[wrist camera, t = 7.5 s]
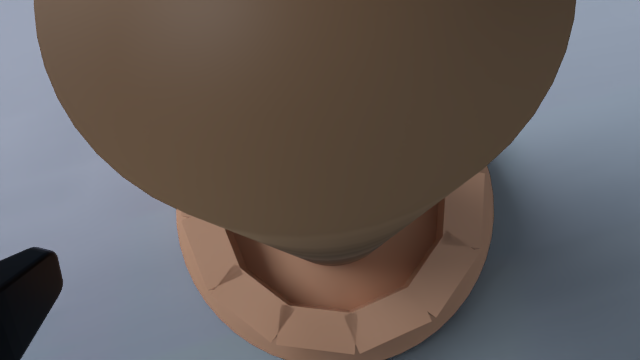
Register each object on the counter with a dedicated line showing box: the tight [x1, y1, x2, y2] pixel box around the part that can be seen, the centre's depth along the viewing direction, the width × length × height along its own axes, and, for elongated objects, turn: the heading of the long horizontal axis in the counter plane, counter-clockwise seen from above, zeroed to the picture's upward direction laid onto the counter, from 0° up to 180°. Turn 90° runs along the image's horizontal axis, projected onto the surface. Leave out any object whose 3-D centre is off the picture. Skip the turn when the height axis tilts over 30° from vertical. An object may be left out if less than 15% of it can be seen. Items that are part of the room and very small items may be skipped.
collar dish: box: [176, 166, 494, 360], centre depth 16 cm, size 11×11×2 cm
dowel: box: [34, 0, 576, 266], centre depth 10 cm, size 4×4×13 cm
